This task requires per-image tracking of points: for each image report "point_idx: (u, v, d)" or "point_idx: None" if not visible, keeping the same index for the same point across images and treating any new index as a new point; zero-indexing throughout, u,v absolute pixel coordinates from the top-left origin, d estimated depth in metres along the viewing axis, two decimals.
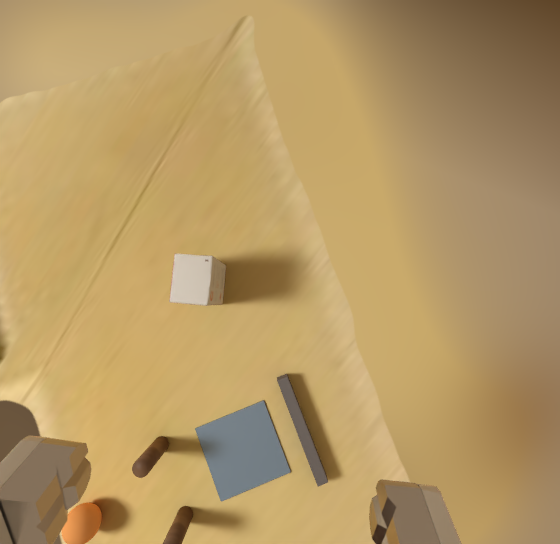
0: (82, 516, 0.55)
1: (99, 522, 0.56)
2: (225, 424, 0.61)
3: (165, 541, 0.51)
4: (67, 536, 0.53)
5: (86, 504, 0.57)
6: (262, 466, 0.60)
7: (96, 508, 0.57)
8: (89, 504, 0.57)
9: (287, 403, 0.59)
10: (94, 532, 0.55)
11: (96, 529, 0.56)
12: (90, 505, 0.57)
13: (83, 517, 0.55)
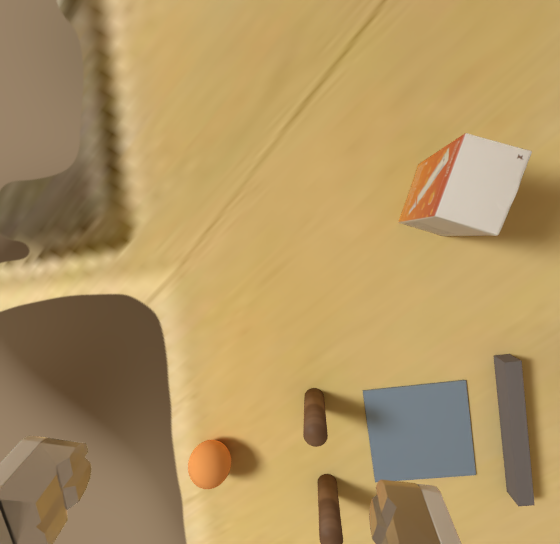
0: (215, 459, 0.43)
1: None
2: (405, 396, 0.45)
3: (327, 525, 0.39)
4: (197, 478, 0.43)
5: (216, 444, 0.46)
6: (440, 458, 0.45)
7: (227, 451, 0.46)
8: (220, 444, 0.46)
9: (510, 396, 0.41)
10: (225, 478, 0.45)
11: (227, 475, 0.45)
12: (221, 446, 0.45)
13: (216, 460, 0.43)
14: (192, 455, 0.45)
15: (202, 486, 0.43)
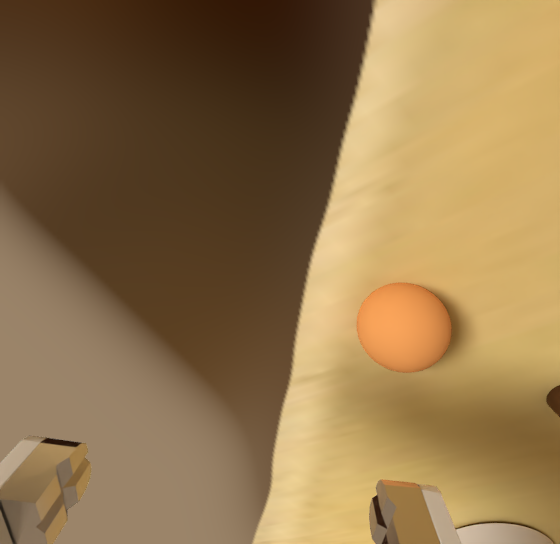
0: (444, 319, 0.19)
1: None
2: None
3: None
4: (403, 349, 0.19)
5: (430, 292, 0.21)
6: None
7: None
8: None
9: None
10: None
11: None
12: None
13: (445, 322, 0.20)
14: (384, 302, 0.20)
15: (402, 366, 0.20)
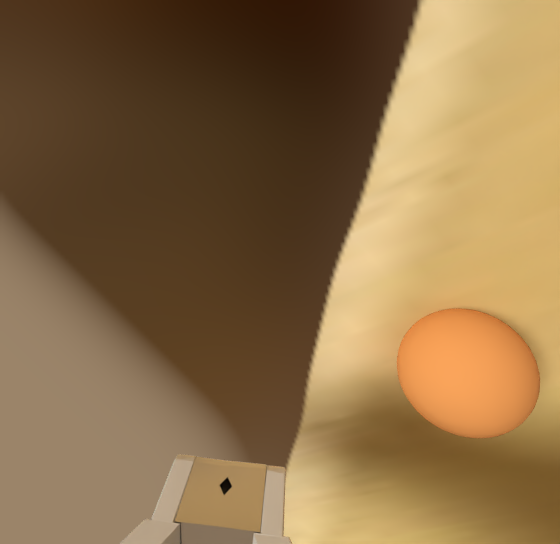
0: (533, 366, 0.13)
1: None
2: None
3: None
4: (477, 411, 0.13)
5: None
6: None
7: None
8: None
9: None
10: None
11: None
12: None
13: (536, 371, 0.13)
14: (445, 339, 0.14)
15: (472, 432, 0.14)
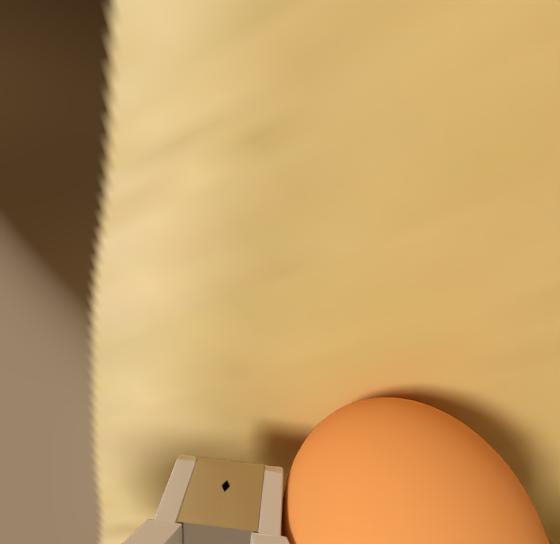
0: None
1: None
2: None
3: None
4: None
5: (464, 425, 0.08)
6: None
7: None
8: None
9: None
10: None
11: None
12: None
13: (547, 539, 0.07)
14: (401, 532, 0.06)
15: None
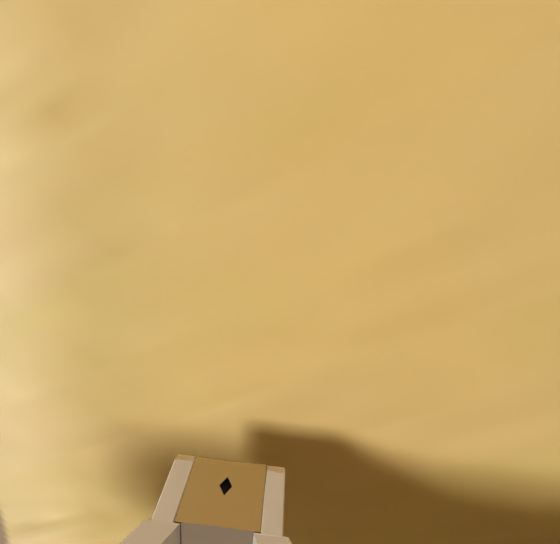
0: None
1: None
2: None
3: None
4: None
5: None
6: None
7: None
8: None
9: None
10: None
11: None
12: None
13: None
14: None
15: None
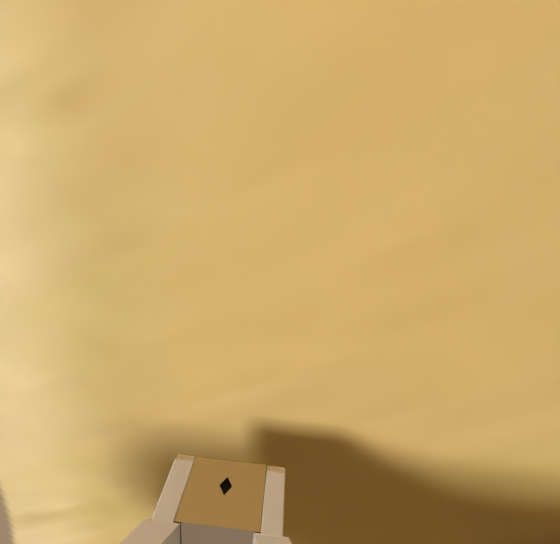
0: None
1: None
2: None
3: None
4: None
5: None
6: None
7: None
8: None
9: None
10: None
11: None
12: None
13: None
14: None
15: None
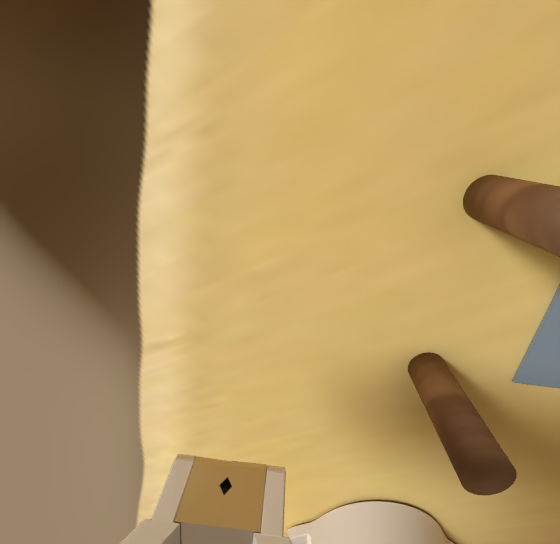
0: None
1: None
2: None
3: (488, 451, 0.17)
4: None
5: None
6: None
7: None
8: None
9: None
10: None
11: None
12: None
13: None
14: None
15: None
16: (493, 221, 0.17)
